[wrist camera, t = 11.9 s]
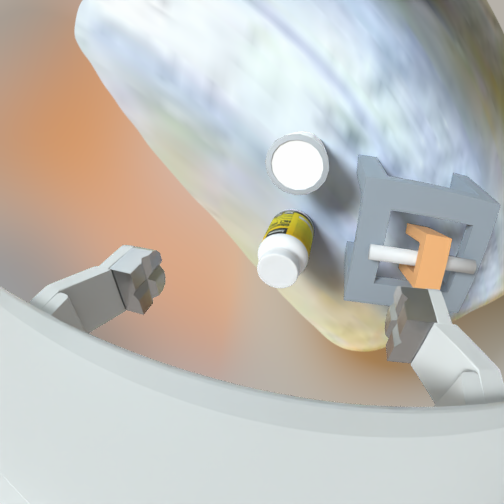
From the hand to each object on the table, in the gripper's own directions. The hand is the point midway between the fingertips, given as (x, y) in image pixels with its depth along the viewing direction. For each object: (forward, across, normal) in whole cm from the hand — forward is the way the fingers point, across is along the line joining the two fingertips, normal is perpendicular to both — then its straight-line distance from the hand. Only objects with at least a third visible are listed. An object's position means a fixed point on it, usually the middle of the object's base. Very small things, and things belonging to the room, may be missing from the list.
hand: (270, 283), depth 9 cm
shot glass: (+29, +2, +2) cm, 30 cm away
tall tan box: (+23, -13, +10) cm, 29 cm away
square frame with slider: (+29, -13, +9) cm, 33 cm away
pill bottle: (+29, +3, +13) cm, 32 cm away
